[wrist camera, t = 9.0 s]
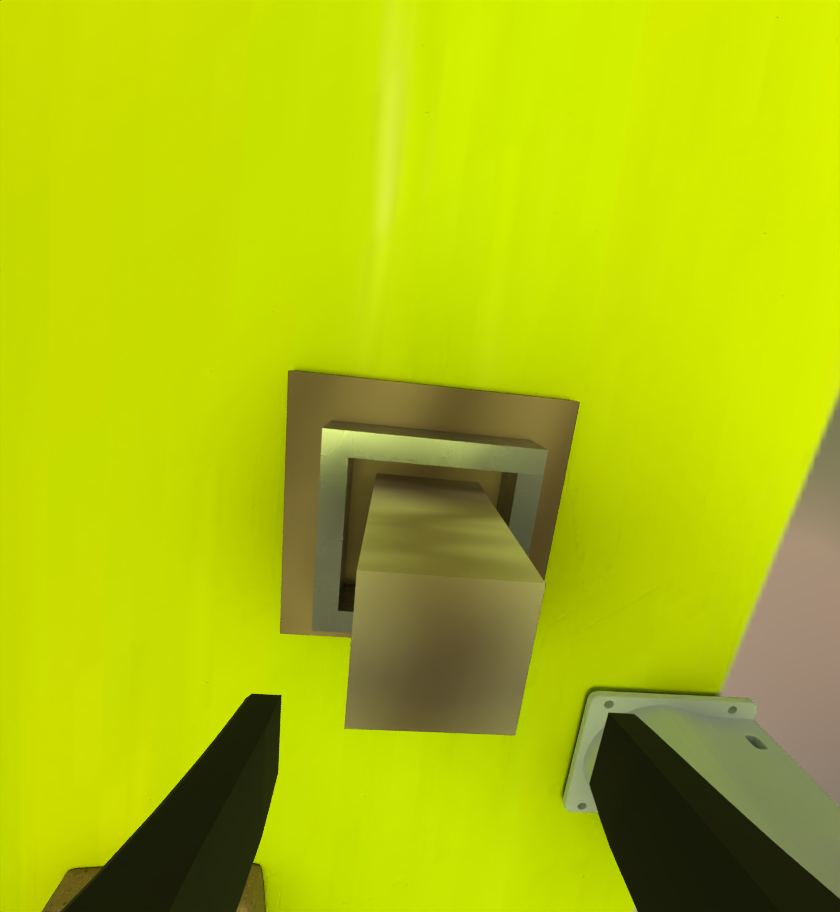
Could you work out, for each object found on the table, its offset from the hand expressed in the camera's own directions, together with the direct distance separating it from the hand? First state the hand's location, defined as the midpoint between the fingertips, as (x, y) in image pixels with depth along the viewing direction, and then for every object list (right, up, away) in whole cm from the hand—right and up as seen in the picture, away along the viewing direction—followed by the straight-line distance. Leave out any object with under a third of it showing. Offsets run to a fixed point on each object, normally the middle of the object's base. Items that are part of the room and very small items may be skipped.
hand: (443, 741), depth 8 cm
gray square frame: (-1, +3, +10) cm, 10 cm away
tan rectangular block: (0, +3, +9) cm, 9 cm away
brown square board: (-1, +3, +10) cm, 10 cm away
